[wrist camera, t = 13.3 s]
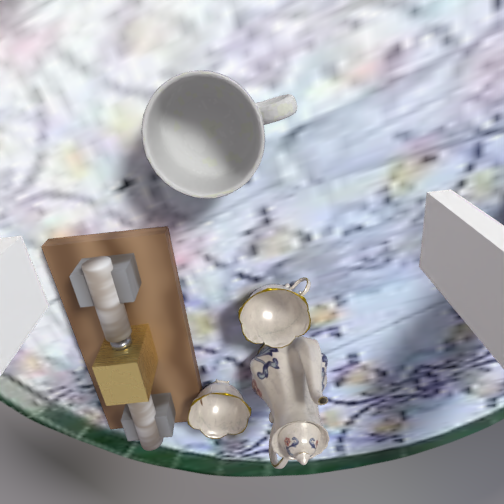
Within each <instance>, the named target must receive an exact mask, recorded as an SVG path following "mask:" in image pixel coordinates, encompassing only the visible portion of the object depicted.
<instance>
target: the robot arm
mask: <svg viewBox="0 0 504 504" xmlns="http://www.w3.org/2000/svg"><path fill="white" fill-rule="evenodd" d="M419 267H420V268H421V270H422V271H423V272H424V273H425V274H426V276H427V277H428V278H429V279H430V280H431V282H432V283H433V284H434V285H435V286H436V288H437V289H438V290H439V291H440V293H441V294H442V295H443V296H444V297H445V299H446V300H447V301H448V302H449V303H450V305H451V306H452V307H453V308H454V309H455V311H456V312H457V313H458V314H459V316H460V317H461V318H462V319H463V320H464V322H465V323H466V324H467V325H468V326H469V328H470V329H471V330H472V331H473V332H474V334H475V335H476V336H477V337H478V339H479V340H480V341H481V342H482V343H483V345H484V346H485V347H486V348H487V349H488V351H489V352H490V353H491V354H492V355H493V357H494V358H495V359H496V360H497V362H498V363H499V364H500V365H501V366H502V368H503V369H504V225H502V224H501V223H499V222H498V221H496V220H495V219H494V218H492V217H491V216H489V215H488V214H486V213H485V212H483V211H482V210H480V209H479V208H477V207H476V206H474V205H473V204H471V203H470V202H468V201H467V200H466V199H464V198H463V197H461V196H460V195H458V194H457V193H455V192H454V191H452V190H442V191H433V192H427V196H426V206H425V216H424V225H423V235H422V245H421V254H420V264H419ZM48 307H49V303H48V301H47V298H46V296H45V293H44V291H43V288H42V286H41V283H40V281H39V278H38V275H37V273H36V270H35V268H34V265H33V263H32V260H31V258H30V255H29V253H28V250H27V248H26V245H25V243H24V240H23V238H22V236H15V237H6V238H0V376H1V375H2V373H3V372H4V370H5V369H6V367H7V366H8V365H9V363H10V362H11V360H12V359H13V357H14V356H15V355H16V353H17V352H18V350H19V349H20V347H21V346H22V345H23V343H24V342H25V340H26V339H27V337H28V336H29V335H30V333H31V332H32V330H33V329H34V327H35V326H36V325H37V323H38V322H39V320H40V319H41V317H42V316H43V315H44V313H45V312H46V310H47V309H48Z"/></svg>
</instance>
